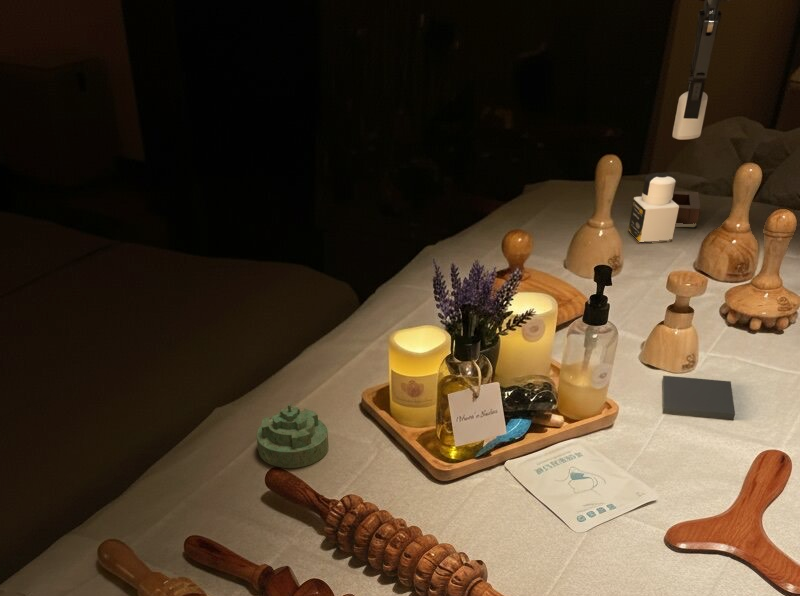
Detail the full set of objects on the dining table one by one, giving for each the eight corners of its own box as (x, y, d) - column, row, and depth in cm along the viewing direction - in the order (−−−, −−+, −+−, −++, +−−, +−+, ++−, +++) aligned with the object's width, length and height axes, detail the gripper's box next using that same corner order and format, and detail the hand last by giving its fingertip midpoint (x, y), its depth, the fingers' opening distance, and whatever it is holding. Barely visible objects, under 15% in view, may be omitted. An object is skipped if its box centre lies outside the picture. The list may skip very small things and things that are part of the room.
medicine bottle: (627, 231, 184) (637, 171, 176) (660, 229, 185) (671, 169, 177) (638, 243, 179) (649, 182, 171) (672, 241, 179) (685, 179, 171)
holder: (694, 211, 193) (698, 192, 190) (696, 228, 185) (700, 208, 182) (642, 208, 195) (646, 189, 192) (642, 225, 187) (646, 206, 184)
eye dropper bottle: (700, 140, 176) (714, 72, 168) (672, 139, 177) (684, 72, 169) (699, 134, 179) (713, 68, 172) (671, 134, 180) (683, 67, 173)
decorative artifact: (343, 447, 124) (297, 422, 130) (340, 403, 119) (293, 380, 125) (289, 476, 119) (244, 449, 124) (285, 432, 114) (238, 405, 120)
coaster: (729, 387, 134) (730, 381, 133) (733, 420, 127) (735, 414, 126) (662, 381, 136) (663, 375, 135) (662, 413, 129) (663, 407, 128)
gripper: (694, -32, 167) (670, 104, 183) (698, -20, 155) (671, 125, 170) (735, -33, 166) (707, 105, 181) (742, -20, 153) (711, 126, 169)
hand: (690, 114), depth 176 cm, fingers closed on eye dropper bottle, 4 cm apart
